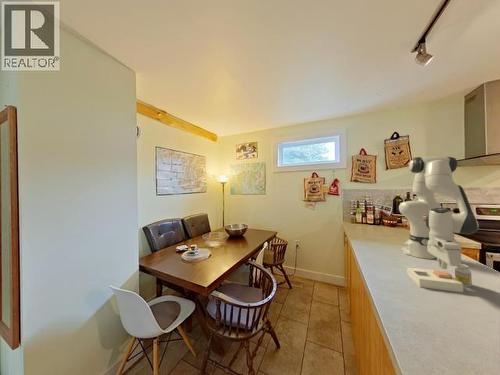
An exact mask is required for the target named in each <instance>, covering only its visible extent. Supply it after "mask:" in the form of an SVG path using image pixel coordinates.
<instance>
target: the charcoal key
mask: <svg viewBox="0 0 500 375" xmlns="http://www.w3.org/2000/svg"><path fill="white" fill-rule="evenodd" d="M415 273H416V274H417V275H419V276H428V275H427V274H426V273H417V272H415ZM429 277H430V276H429Z"/></svg>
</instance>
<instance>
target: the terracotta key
mask: <svg viewBox="0 0 500 375" xmlns="http://www.w3.org/2000/svg"><path fill="white" fill-rule="evenodd" d="M432 270H433V274H435V275H436V276H437V277H438V278H447V279H452V277H453V275H452V274H450V273H449V272H448V271H445V270H439V271H436V270H437V269H432Z"/></svg>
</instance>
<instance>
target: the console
mask: <svg viewBox="0 0 500 375" xmlns="http://www.w3.org/2000/svg"><path fill="white" fill-rule="evenodd" d="M406 270H407V272H406V273H407V275H408V277H410V279H411V280H412V281H413V282H414V283H415V284H416V285H417V286H418V287H419V288H426V289H433V290H440V291H449V292H456V293H464V286H463V284H462V283H461V282H460V281H458V280H457V279H455V276H452V279H447V278H438V277H437V276H436V275H435V274H433V270H434V269H427V268H417V267H416V268H415V267H406ZM435 270H436V271H440V269H439V270H437V269H435ZM415 272H417V273H426V274H427V275H428V276H419V275H417V274H416V273H415ZM429 276H430V277H429Z"/></svg>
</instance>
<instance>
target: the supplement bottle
mask: <svg viewBox="0 0 500 375" xmlns="http://www.w3.org/2000/svg"><path fill="white" fill-rule="evenodd" d="M454 273H455V274H454V278H455V279H457V280H458V281H460V282H461V283H462V284H463V287H466V288H469V287H472V286H473V284H472V283H473V282H472V271H471V270H470V266H469V265H467V264H464V263H461V265H460V266H456V267H455V268H454Z"/></svg>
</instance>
